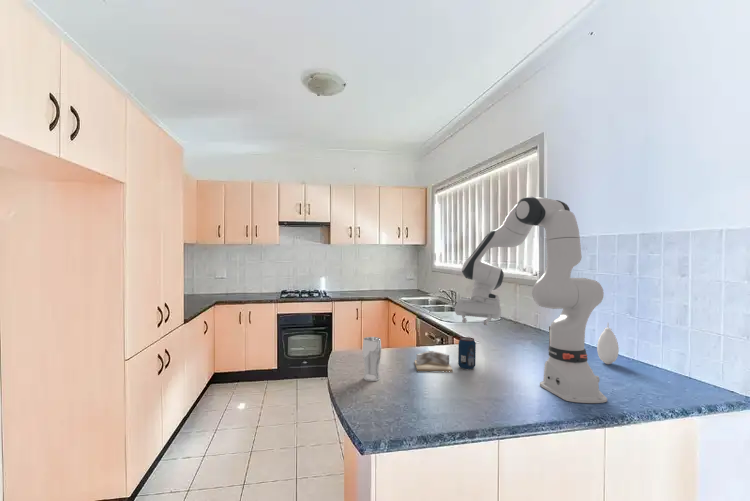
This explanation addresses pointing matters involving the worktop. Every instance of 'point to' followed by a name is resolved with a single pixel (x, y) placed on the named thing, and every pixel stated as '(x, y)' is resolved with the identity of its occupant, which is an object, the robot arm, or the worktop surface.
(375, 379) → the beer glass
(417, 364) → the napkin holder
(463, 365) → the soda can
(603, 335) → the white tall egg shape
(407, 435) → the worktop surface
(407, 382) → the worktop surface
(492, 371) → the worktop surface
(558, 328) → the robot arm
